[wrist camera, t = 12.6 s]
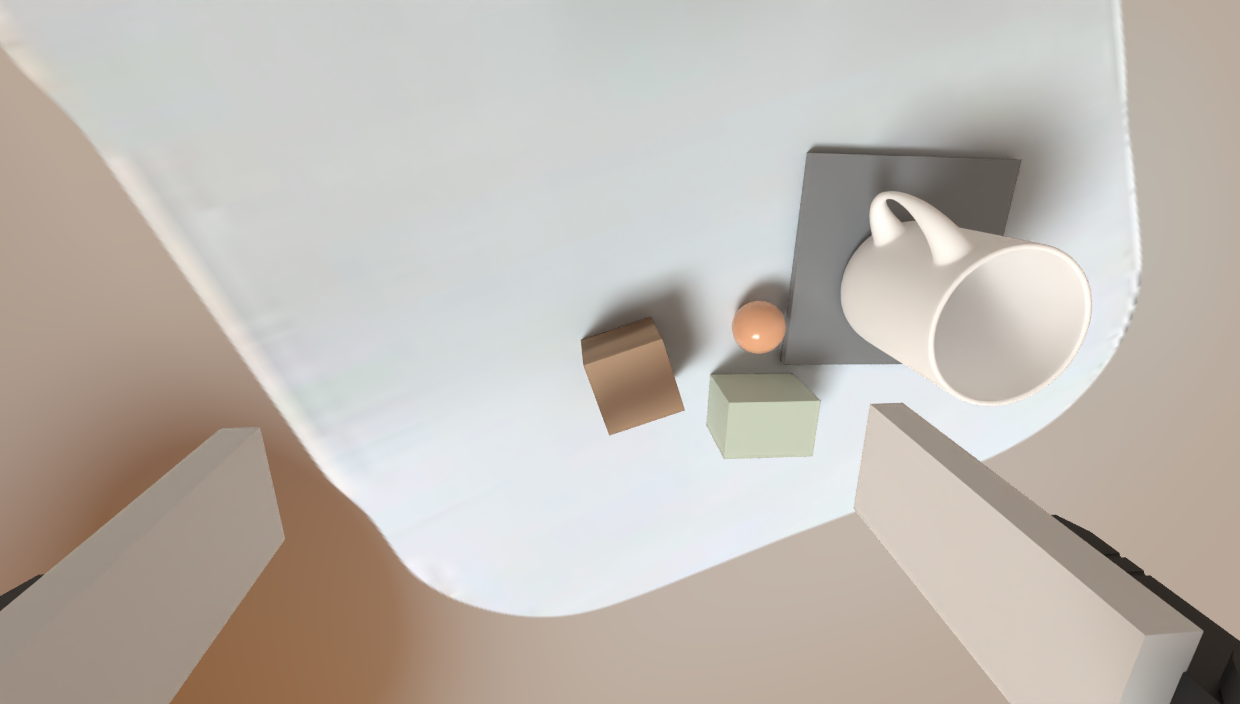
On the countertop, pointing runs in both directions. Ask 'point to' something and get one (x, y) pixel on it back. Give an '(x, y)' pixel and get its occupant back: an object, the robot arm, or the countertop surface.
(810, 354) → the plate
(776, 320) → the terracotta ball
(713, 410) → the sage block
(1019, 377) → the mug
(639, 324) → the walnut block
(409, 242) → the countertop surface
